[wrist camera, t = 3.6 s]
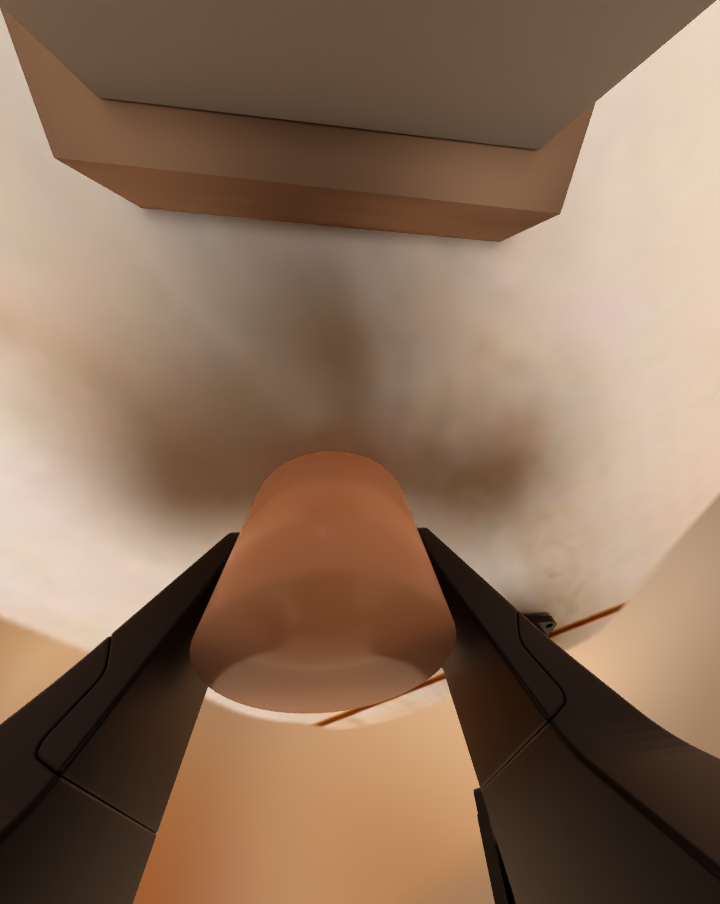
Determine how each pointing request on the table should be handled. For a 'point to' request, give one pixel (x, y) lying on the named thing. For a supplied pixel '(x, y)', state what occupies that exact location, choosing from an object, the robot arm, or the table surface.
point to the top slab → (363, 58)
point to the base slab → (295, 163)
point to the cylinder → (324, 594)
